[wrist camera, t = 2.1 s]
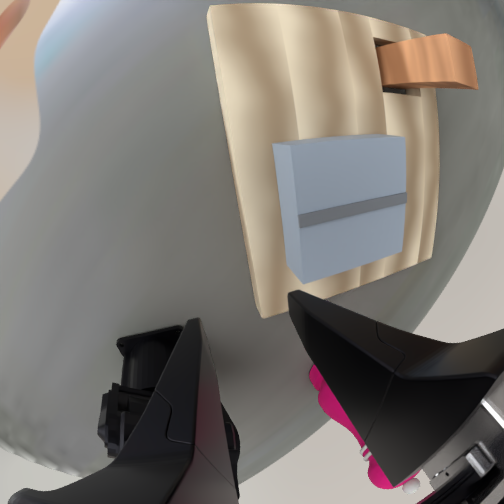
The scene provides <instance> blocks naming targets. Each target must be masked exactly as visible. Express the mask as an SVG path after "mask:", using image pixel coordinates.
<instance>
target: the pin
mask: <svg viewBox="0 0 504 504" xmlns="http://www.w3.org/2000/svg"><path fill="white" fill-rule="evenodd" d="M375 49H376V54H377V59H378V65H379V71H380V77H381V84H382V87H388V88H396V89H411V88H458V89H475V90H478V83H477V76H476V70H475V65H474V59H473V54H472V50H471V46H469V45H467V44H465V43H464V42H462V41H460V40H458V39H456V38H454V37H452V36H450V35H448V34H446V33H445V34H438V35H432V36H426V37H420V38H415V39H410V40H405V41H400V42H396V43H392V44H388V45H384V46H380V47H376V48H375Z"/></svg>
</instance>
